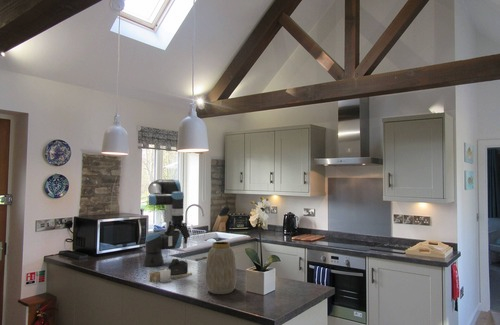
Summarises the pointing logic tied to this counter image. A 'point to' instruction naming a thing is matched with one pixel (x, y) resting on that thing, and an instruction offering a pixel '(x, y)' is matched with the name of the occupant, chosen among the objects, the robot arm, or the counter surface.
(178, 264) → the camera
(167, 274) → the white short cylinder
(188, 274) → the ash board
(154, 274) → the beech block
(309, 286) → the counter surface
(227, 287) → the vase
